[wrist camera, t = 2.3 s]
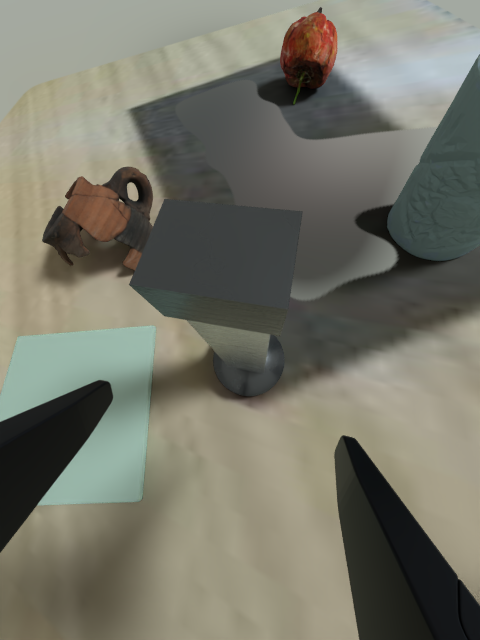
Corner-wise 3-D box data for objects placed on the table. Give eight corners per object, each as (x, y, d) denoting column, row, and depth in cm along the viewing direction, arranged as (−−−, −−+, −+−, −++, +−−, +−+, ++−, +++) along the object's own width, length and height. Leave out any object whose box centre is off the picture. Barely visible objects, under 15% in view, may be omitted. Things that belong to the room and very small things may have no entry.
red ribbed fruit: (320, 122, 34) (355, 35, 30) (309, 87, 28) (352, -27, 24) (278, 115, 37) (306, 35, 33) (260, 82, 30) (291, -22, 27)
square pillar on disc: (277, 403, 19) (344, 410, 4) (209, 388, 20) (48, 347, 5) (287, 335, 21) (357, 165, 6) (224, 325, 22) (145, 153, 7)
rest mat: (142, 498, 17) (138, 501, 17) (-25, 504, 18) (-34, 507, 18) (155, 327, 22) (153, 325, 22) (23, 338, 23) (17, 336, 22)
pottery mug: (131, 299, 24) (35, 257, 18) (111, 276, 30) (35, 239, 24) (189, 205, 24) (113, 129, 18) (157, 201, 30) (92, 145, 24)
